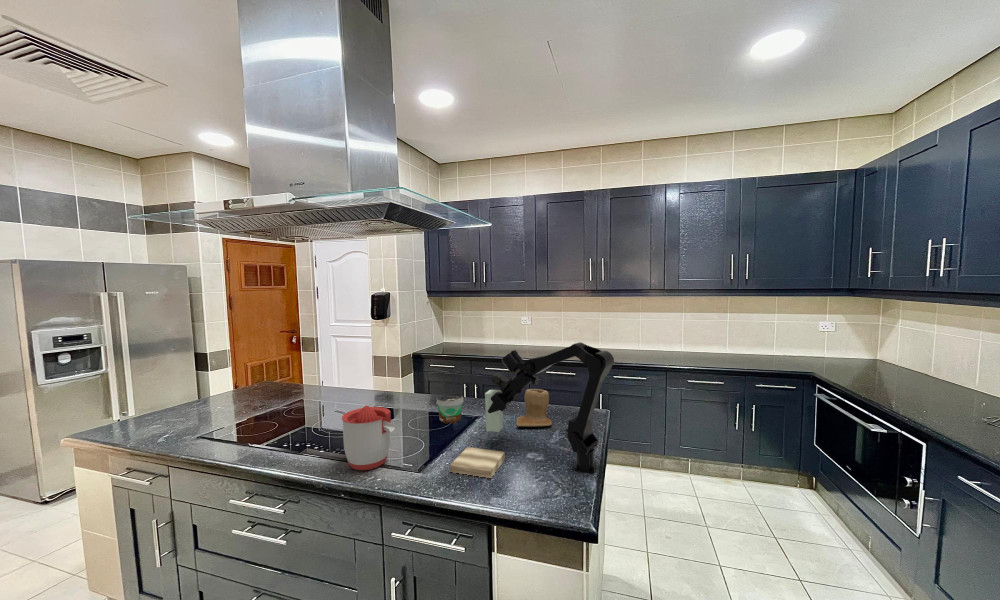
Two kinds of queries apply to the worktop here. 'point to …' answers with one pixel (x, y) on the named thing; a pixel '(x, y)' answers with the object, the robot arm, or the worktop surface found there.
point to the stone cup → (535, 409)
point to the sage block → (493, 414)
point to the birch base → (478, 462)
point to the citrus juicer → (367, 436)
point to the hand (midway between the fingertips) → (491, 409)
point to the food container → (450, 410)
